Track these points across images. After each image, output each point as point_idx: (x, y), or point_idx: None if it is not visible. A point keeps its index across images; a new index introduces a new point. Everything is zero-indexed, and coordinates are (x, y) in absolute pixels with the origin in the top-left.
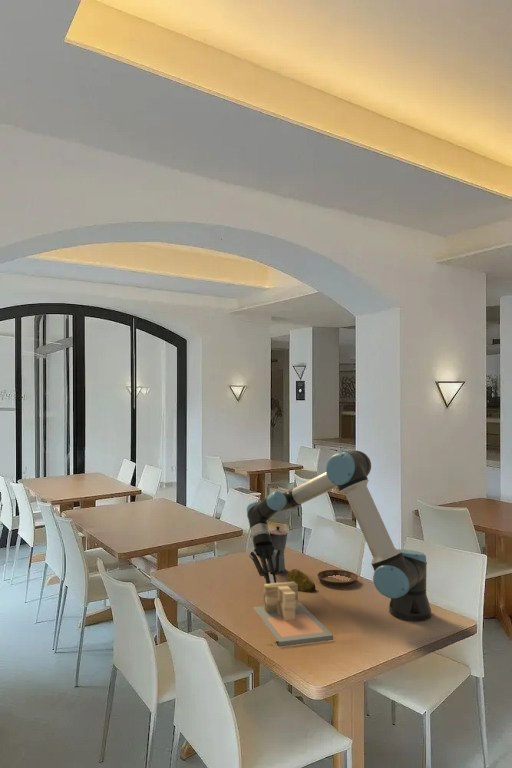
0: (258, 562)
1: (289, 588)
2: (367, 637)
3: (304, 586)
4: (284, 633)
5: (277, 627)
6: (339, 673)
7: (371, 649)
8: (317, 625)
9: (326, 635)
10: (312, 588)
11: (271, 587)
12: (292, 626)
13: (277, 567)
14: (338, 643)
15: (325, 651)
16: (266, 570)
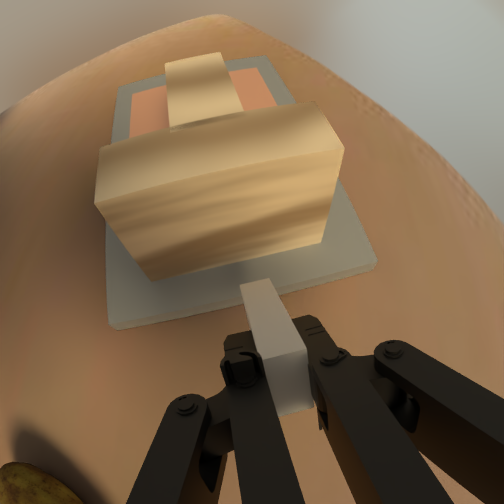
0: (497, 424)
1: (173, 98)
2: (45, 120)
3: (42, 485)
4: (246, 78)
5: (263, 100)
6: (172, 30)
7: (73, 84)
8: (130, 119)
9: (135, 83)
10: (14, 462)
11: (286, 106)
12: None
13: (173, 444)
14: None
15: (164, 62)
16: (346, 380)
